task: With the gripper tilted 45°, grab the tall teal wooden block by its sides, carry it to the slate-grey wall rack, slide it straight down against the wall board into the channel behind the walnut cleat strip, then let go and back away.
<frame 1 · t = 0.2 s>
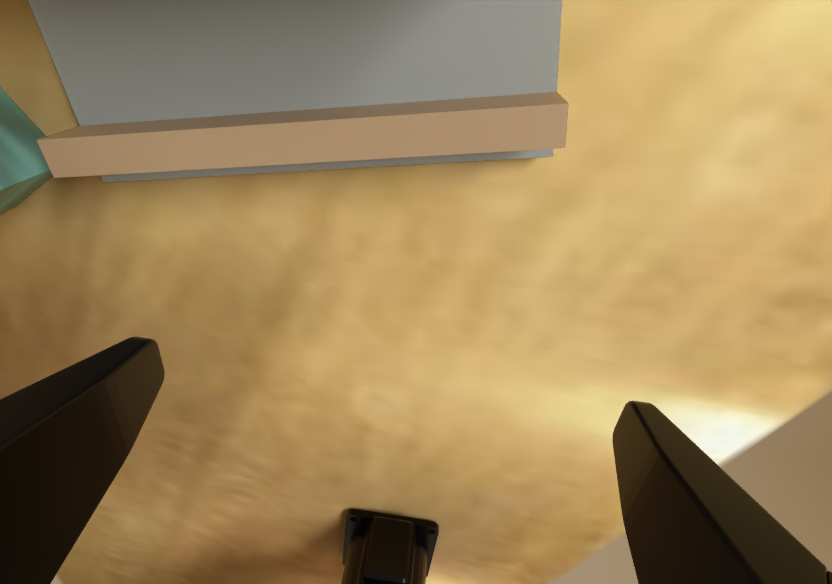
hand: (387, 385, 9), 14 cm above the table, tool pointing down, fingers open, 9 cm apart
teal block: (1, 144, 23), on the table
wall rack: (296, 25, 19), on the table
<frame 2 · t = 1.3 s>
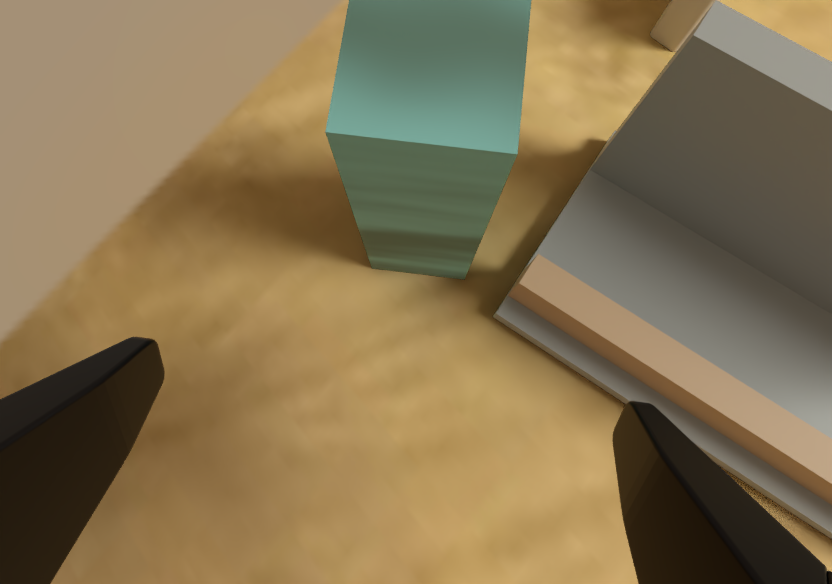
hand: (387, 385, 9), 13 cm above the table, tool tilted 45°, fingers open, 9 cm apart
lighter: (696, 4, 27), on the table
teal block: (423, 229, 24), on the table
wall rack: (735, 339, 23), on the table
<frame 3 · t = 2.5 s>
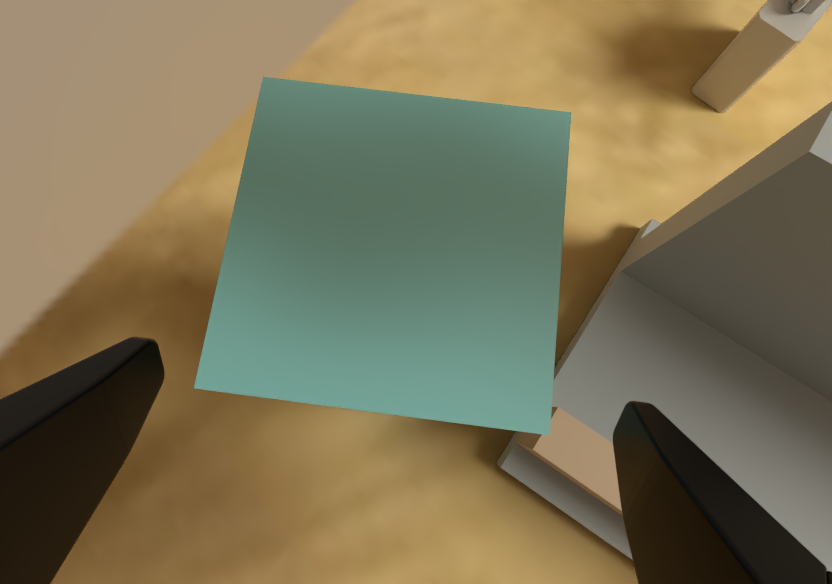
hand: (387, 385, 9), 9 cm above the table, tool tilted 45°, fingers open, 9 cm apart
lighter: (748, 52, 22), on the table
teal block: (407, 345, 19), on the table
wall rack: (812, 495, 18), on the table
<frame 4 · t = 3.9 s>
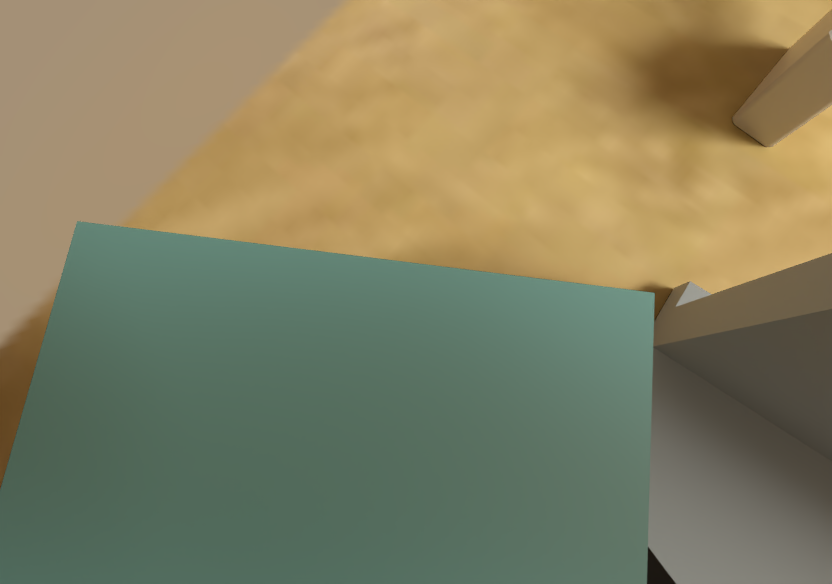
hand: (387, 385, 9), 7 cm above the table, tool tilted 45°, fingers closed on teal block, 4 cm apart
lighter: (797, 73, 19), on the table
teal block: (393, 434, 16), on the table, touching gripper
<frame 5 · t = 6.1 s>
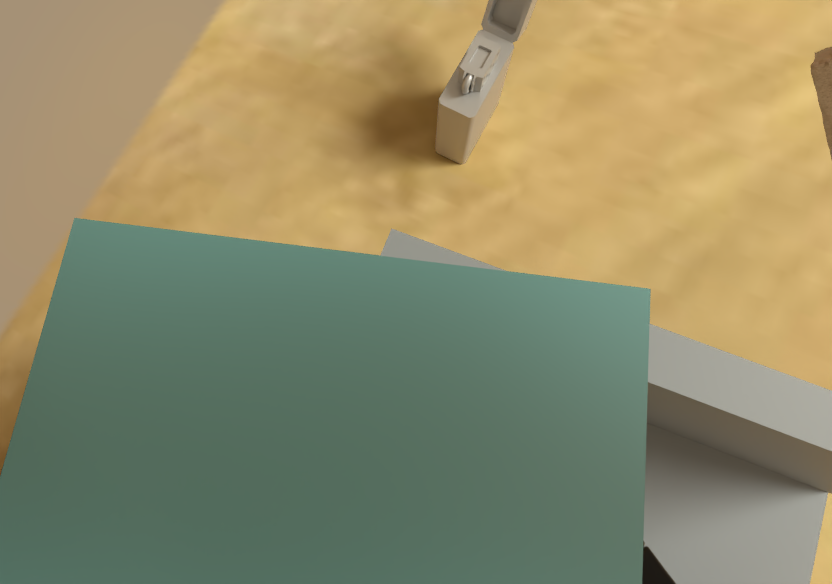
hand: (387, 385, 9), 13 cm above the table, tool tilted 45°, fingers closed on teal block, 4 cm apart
lighter: (479, 105, 26), on the table
teal block: (392, 433, 16), point 7 cm above the table, touching gripper
wall rack: (573, 469, 22), on the table
when the fingers open (9 cm above the table, at t = 8.2 s): teal block drops 1 cm, resting on wall rack.
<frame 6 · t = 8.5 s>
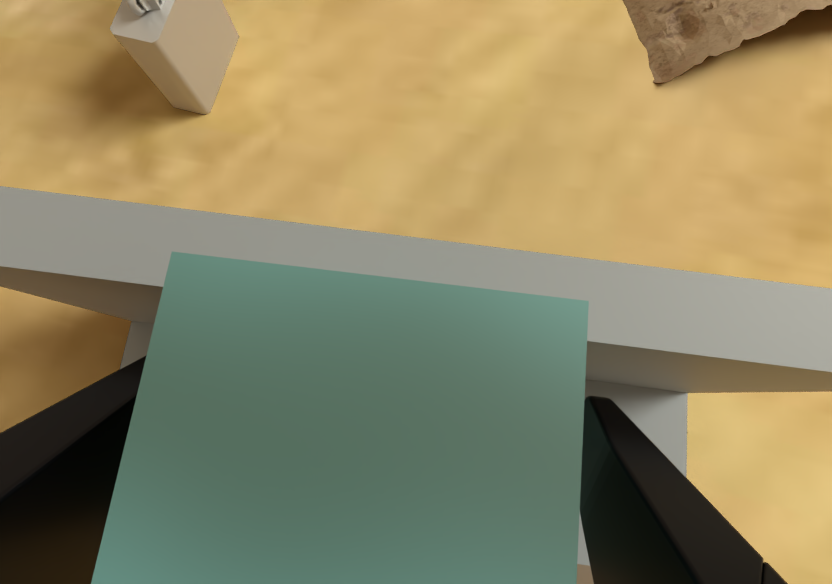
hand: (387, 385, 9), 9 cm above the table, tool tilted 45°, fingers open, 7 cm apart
lighter: (219, 43, 22), on the table
teal block: (395, 430, 17), point 1 cm above the table, touching wall rack
wall rack: (395, 440, 18), on the table
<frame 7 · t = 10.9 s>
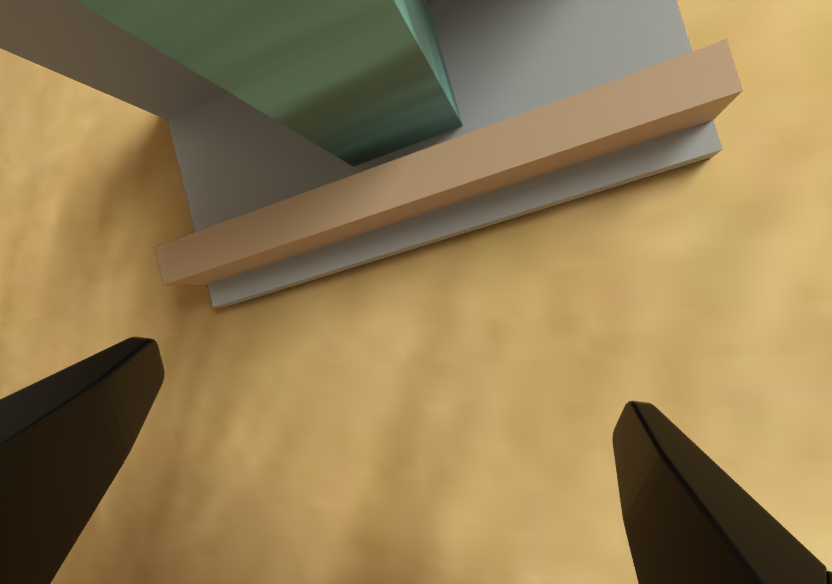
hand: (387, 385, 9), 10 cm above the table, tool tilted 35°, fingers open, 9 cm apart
teal block: (391, 91, 19), point 1 cm above the table, touching wall rack
wall rack: (402, 110, 20), on the table
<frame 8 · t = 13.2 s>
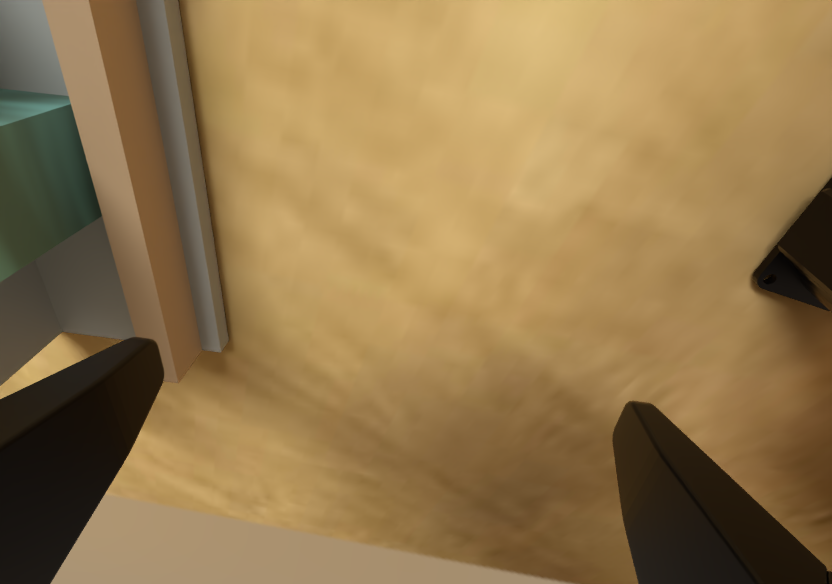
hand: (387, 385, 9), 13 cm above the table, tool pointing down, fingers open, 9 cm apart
teal block: (50, 149, 20), point 1 cm above the table, touching wall rack
wall rack: (76, 143, 21), on the table
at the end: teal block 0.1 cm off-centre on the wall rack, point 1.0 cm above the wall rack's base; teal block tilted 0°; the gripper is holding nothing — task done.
